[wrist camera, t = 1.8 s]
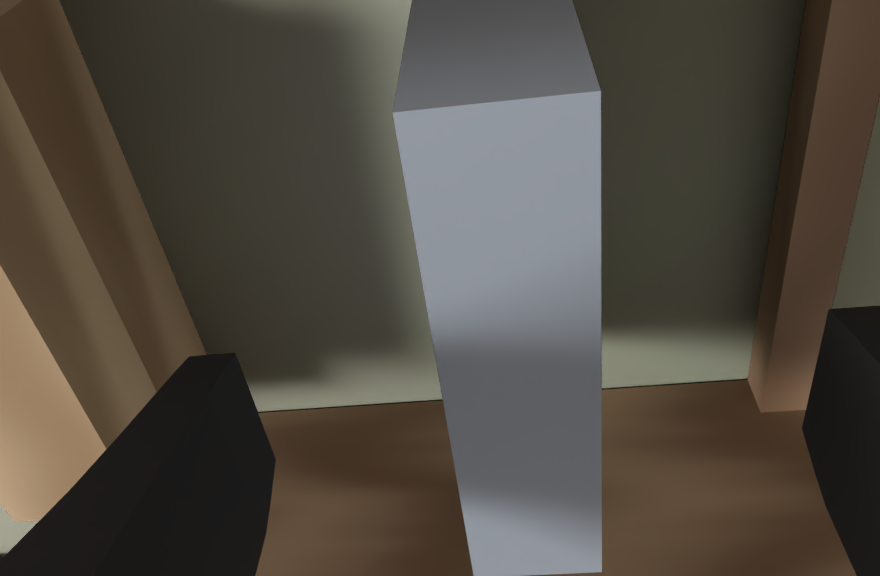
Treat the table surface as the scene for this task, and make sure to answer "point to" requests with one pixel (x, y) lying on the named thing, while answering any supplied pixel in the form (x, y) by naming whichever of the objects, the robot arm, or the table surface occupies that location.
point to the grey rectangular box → (511, 268)
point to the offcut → (71, 270)
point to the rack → (634, 401)
